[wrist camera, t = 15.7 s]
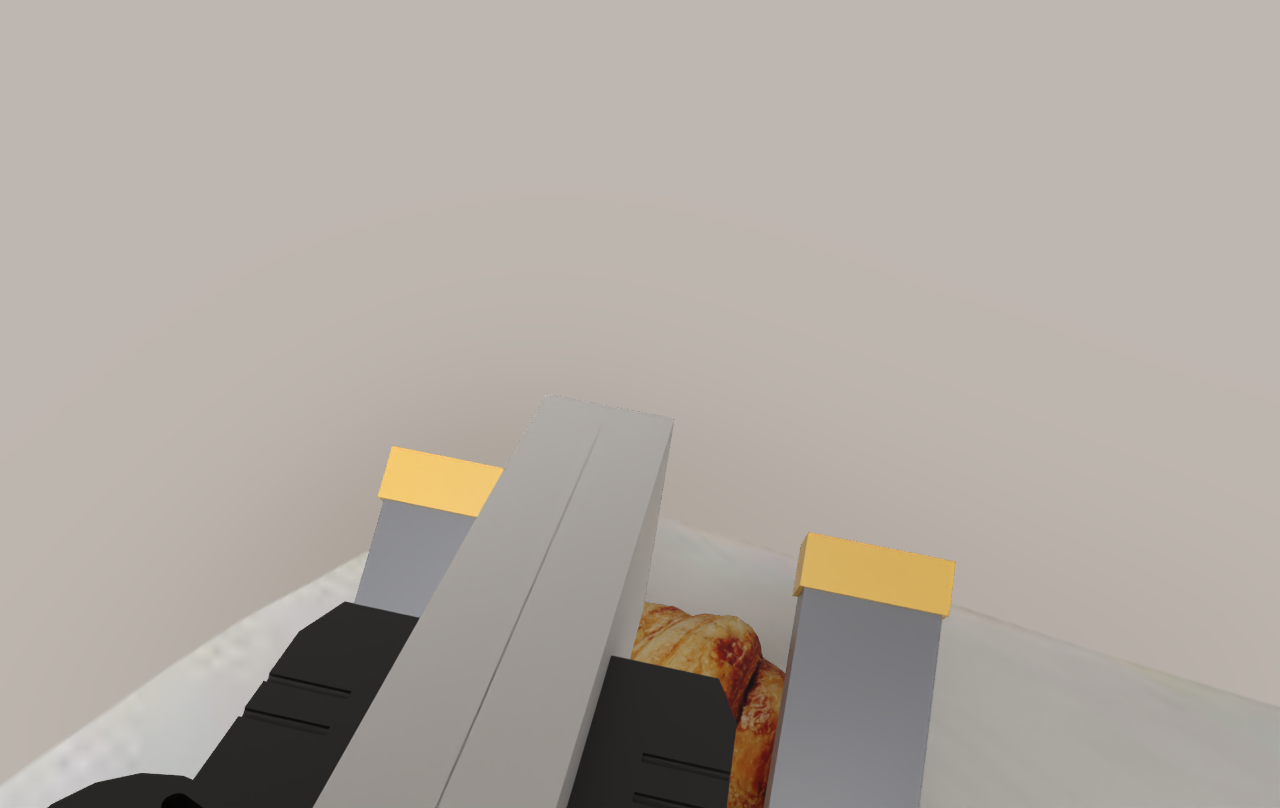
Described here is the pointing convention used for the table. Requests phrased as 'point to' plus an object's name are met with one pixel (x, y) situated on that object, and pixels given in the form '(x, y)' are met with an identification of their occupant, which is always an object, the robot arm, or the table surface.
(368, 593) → the lever
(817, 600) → the lever
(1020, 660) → the table surface
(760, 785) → the croissant
